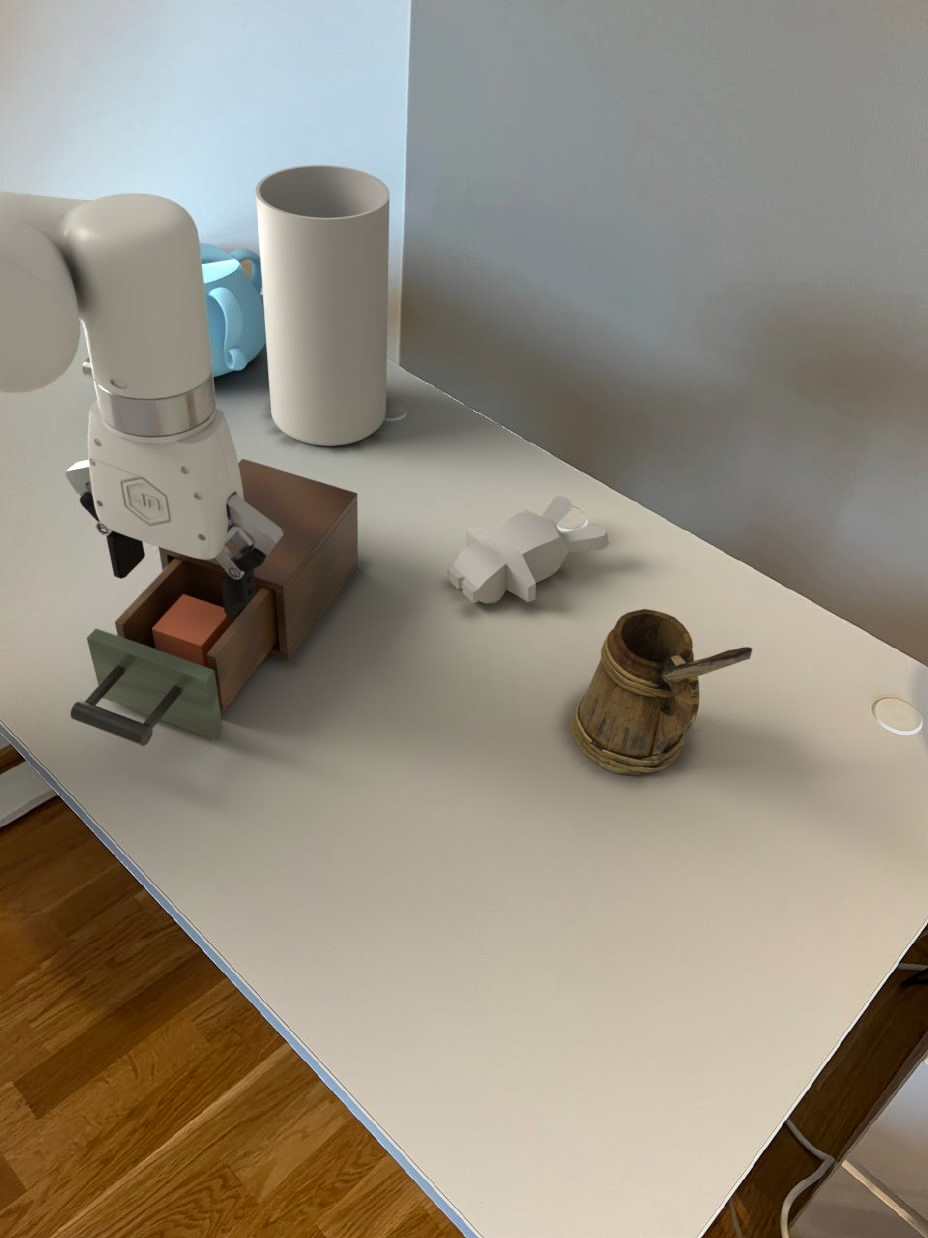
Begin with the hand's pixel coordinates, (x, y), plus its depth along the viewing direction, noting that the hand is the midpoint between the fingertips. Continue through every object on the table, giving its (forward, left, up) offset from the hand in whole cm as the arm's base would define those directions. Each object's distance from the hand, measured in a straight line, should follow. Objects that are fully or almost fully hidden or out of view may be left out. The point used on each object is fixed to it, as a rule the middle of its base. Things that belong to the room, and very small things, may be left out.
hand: (184, 586), depth 82 cm
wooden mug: (+36, +7, -10) cm, 38 cm away
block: (0, 0, -8) cm, 8 cm away
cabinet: (0, +11, -10) cm, 15 cm away
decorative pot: (-27, +43, -10) cm, 52 cm away
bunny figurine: (+20, +24, -10) cm, 33 cm away
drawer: (0, -3, -9) cm, 9 cm away
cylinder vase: (-8, +39, -10) cm, 41 cm away
